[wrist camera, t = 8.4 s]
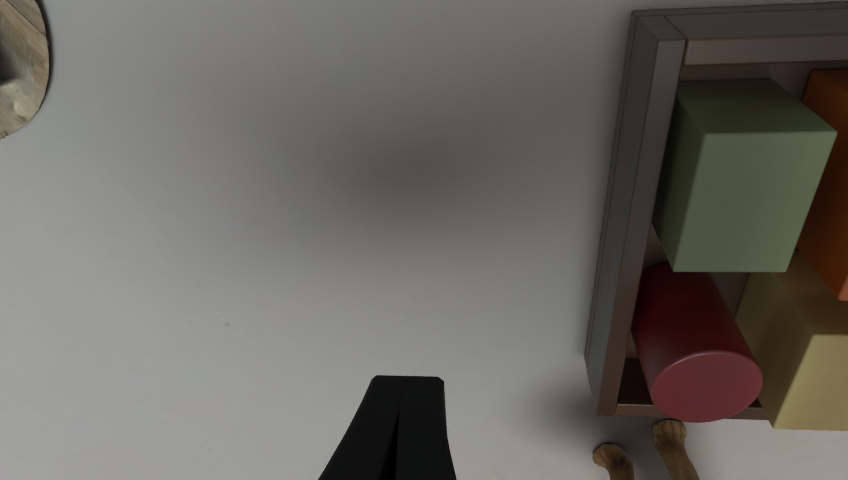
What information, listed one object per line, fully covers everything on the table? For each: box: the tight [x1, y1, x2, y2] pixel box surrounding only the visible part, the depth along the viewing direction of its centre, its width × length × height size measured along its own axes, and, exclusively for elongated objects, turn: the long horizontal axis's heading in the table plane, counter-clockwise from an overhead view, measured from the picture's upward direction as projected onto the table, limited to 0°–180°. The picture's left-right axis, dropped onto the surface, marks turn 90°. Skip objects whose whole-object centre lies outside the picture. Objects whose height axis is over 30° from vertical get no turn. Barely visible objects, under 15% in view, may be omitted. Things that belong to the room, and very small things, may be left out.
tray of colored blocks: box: [584, 2, 848, 431], centre depth 15 cm, size 8×12×5 cm, turn 3°
